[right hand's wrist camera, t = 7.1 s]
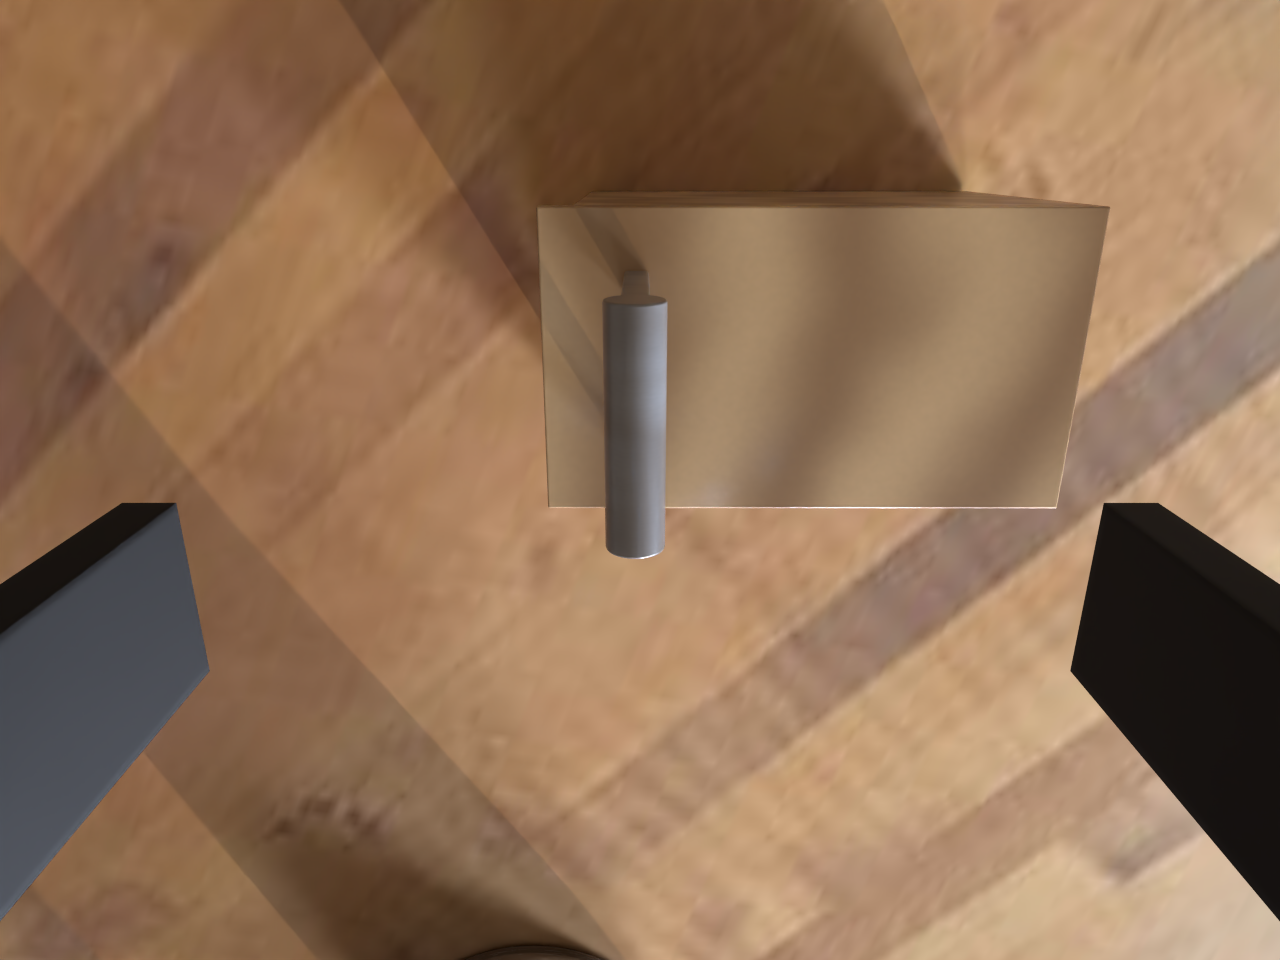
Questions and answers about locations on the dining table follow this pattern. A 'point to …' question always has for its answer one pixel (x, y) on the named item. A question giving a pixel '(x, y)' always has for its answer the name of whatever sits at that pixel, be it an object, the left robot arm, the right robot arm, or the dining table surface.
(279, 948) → the dining table surface
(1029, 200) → the chest
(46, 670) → the right robot arm
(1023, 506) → the lid
